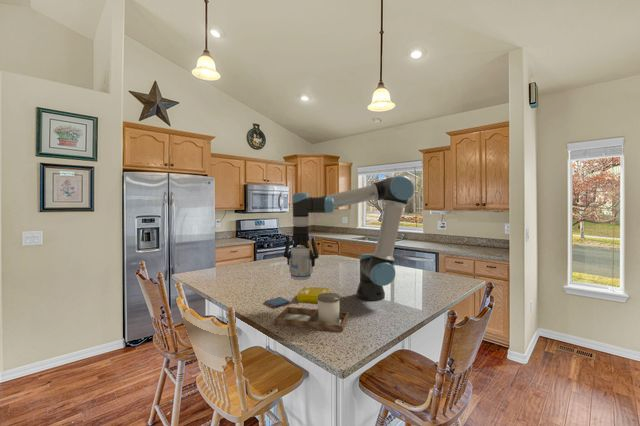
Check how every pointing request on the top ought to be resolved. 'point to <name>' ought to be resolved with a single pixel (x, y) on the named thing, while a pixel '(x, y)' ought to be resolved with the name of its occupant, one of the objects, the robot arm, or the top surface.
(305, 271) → the supplement tub
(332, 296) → the canister
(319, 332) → the top surface
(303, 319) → the crate
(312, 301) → the element tile
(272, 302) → the woven mat
